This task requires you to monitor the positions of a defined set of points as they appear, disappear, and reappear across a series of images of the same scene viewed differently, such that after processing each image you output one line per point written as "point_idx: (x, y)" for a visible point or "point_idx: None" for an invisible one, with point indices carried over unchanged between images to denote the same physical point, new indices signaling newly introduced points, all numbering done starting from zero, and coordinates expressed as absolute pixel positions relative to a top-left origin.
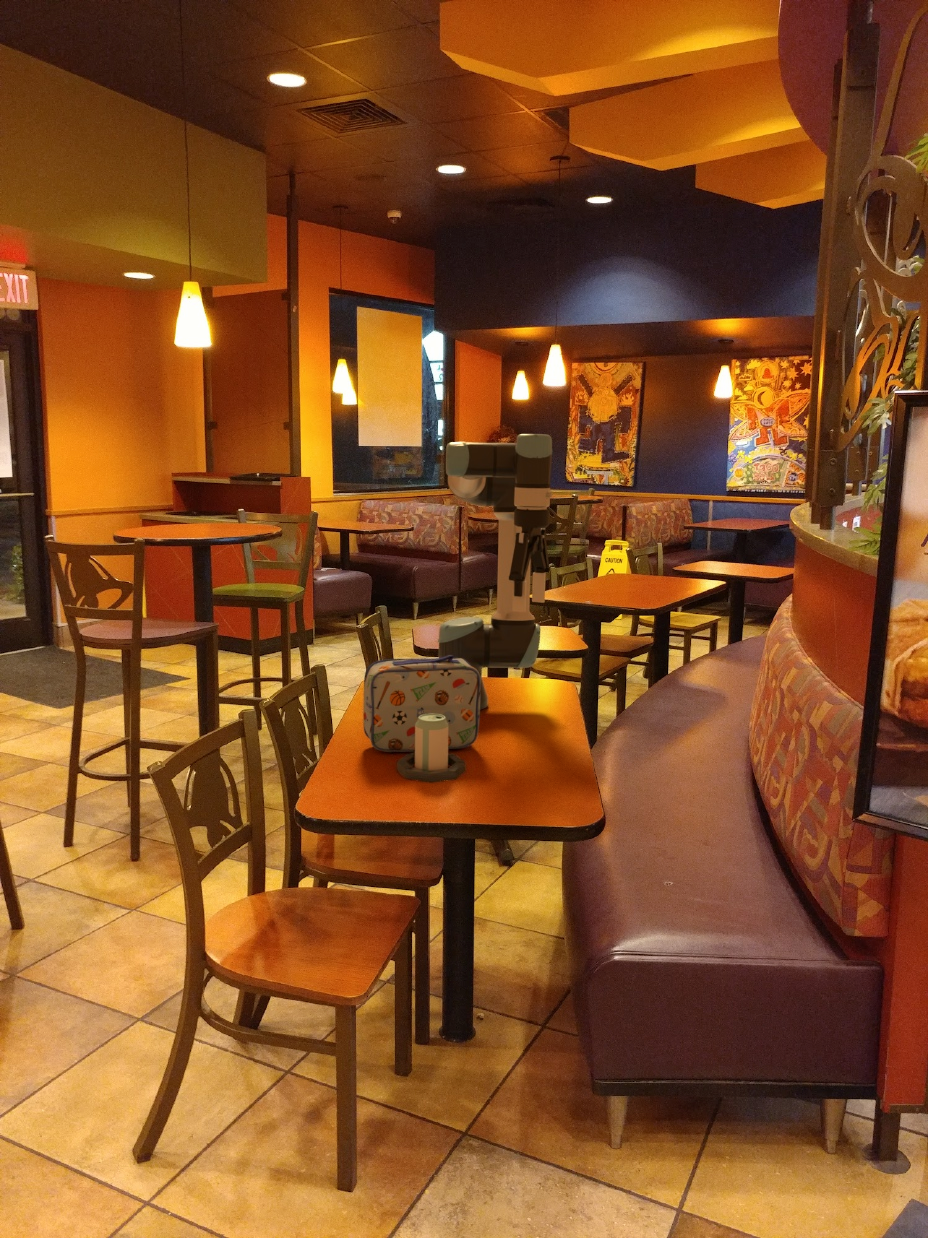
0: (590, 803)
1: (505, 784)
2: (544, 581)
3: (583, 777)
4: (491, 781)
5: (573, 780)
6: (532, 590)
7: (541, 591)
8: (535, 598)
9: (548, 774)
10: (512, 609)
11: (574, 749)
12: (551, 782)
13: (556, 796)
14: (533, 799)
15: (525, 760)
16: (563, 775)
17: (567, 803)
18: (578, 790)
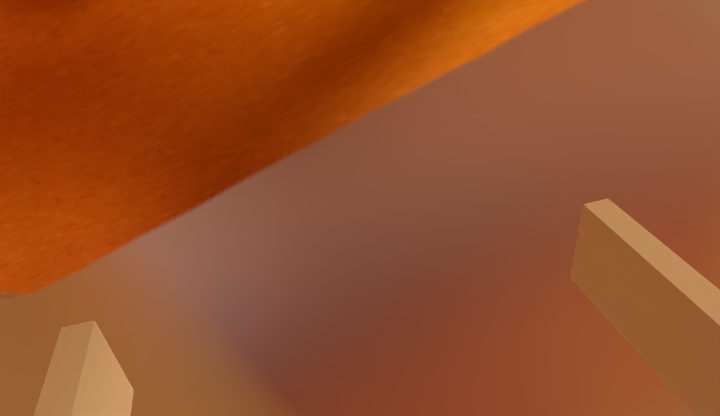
0: (106, 252)
1: (57, 58)
2: (693, 407)
3: (236, 178)
4: (44, 15)
5: (204, 171)
6: (646, 262)
7: (628, 321)
8: (597, 243)
9: (202, 111)
10: (60, 339)
11: (407, 79)
12: (158, 141)
13: (86, 188)
14: (26, 160)
15: (260, 13)
16: (219, 140)
17: (68, 222)
18: (155, 205)
